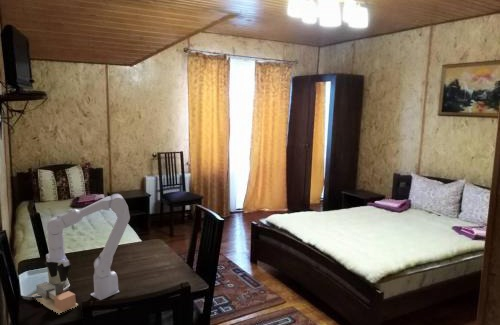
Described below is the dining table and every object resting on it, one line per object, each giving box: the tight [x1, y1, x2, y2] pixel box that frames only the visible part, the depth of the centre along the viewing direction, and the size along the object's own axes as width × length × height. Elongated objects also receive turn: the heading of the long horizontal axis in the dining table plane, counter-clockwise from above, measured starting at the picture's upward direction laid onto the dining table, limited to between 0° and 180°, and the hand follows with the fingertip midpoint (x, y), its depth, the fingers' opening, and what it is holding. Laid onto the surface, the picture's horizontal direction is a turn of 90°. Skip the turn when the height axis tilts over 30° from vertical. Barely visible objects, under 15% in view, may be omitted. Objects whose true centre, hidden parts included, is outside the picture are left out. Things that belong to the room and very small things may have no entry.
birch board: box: [31, 293, 79, 315], centre depth 158 cm, size 8×23×1 cm, turn 54°
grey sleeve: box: [36, 281, 55, 300], centre depth 161 cm, size 4×8×4 cm, turn 54°
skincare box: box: [47, 263, 64, 285], centre depth 175 cm, size 6×4×12 cm
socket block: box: [54, 290, 77, 311], centre depth 152 cm, size 6×5×5 cm
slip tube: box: [47, 283, 65, 300], centre depth 156 cm, size 2×15×7 cm, turn 54°
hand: (58, 278), depth 156 cm, fingers open, 7 cm apart
